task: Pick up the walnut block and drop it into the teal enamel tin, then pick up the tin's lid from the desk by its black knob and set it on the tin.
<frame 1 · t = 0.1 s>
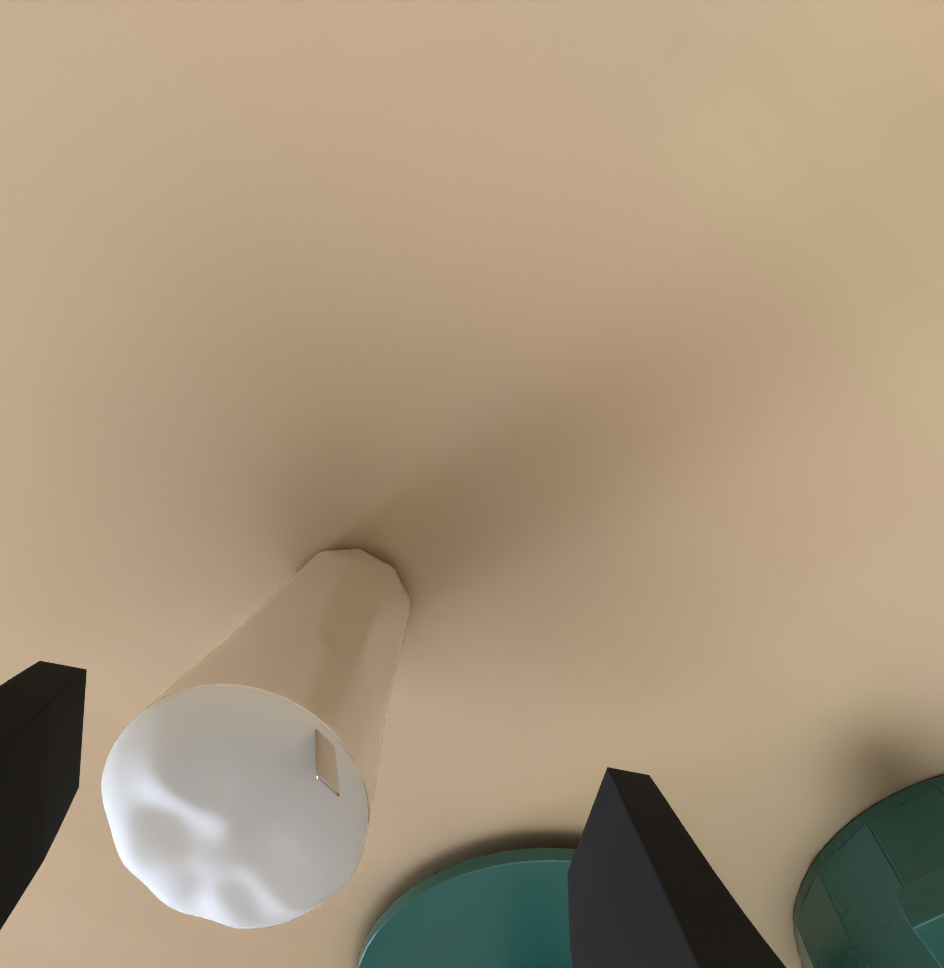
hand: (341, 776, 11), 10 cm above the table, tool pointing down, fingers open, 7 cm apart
milkshake: (362, 591, 22), on the table
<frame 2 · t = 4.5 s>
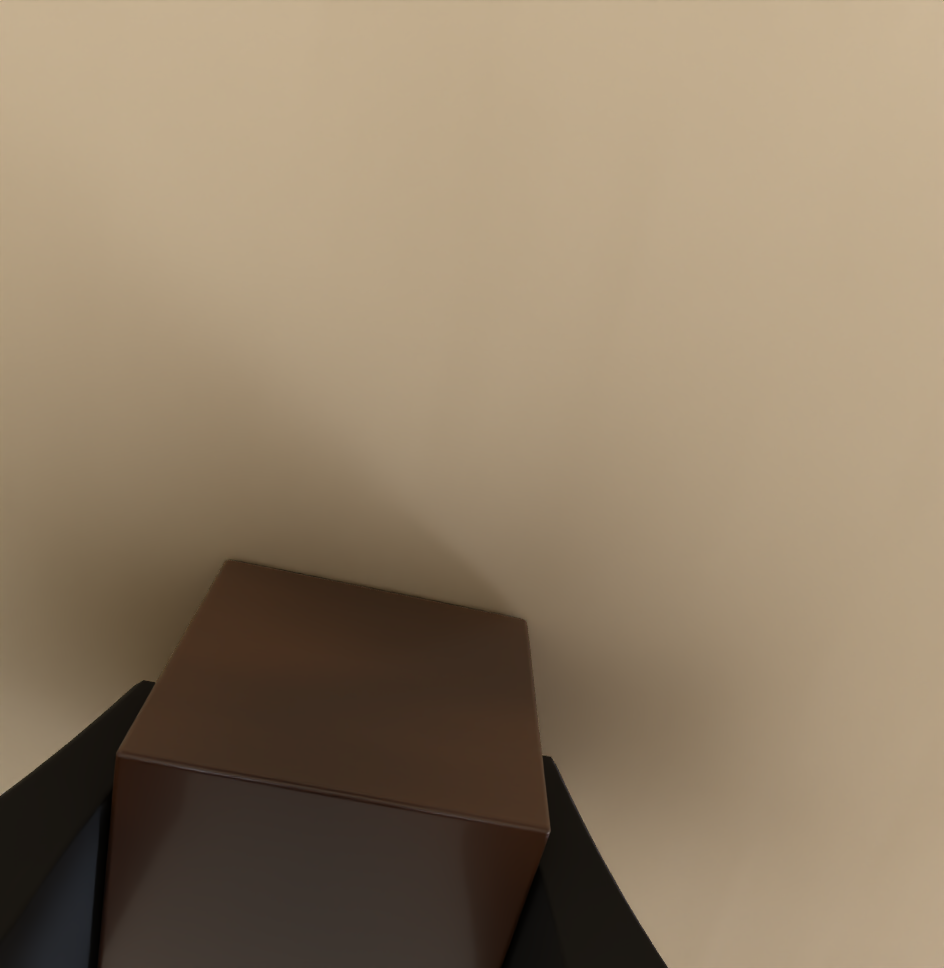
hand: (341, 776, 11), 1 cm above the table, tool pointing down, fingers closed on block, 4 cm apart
block: (352, 709, 13), on the table, touching gripper
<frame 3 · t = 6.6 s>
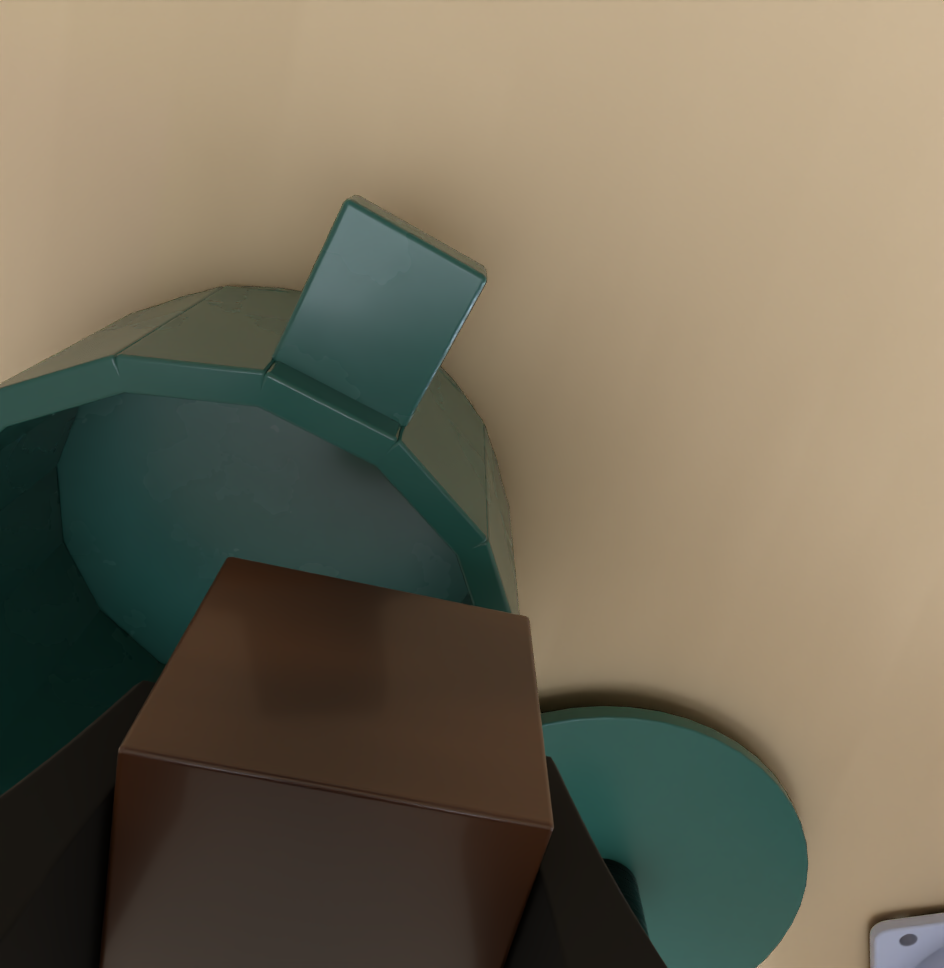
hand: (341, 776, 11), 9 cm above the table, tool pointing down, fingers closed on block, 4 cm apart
tin: (275, 518, 20), on the table
block: (354, 707, 13), point 8 cm above the table, touching gripper
lid: (592, 874, 24), point 1 cm above the table
when the fingers open (3 cm above the table, at t = 9.1 s): block drops 1 cm, resting on tin.
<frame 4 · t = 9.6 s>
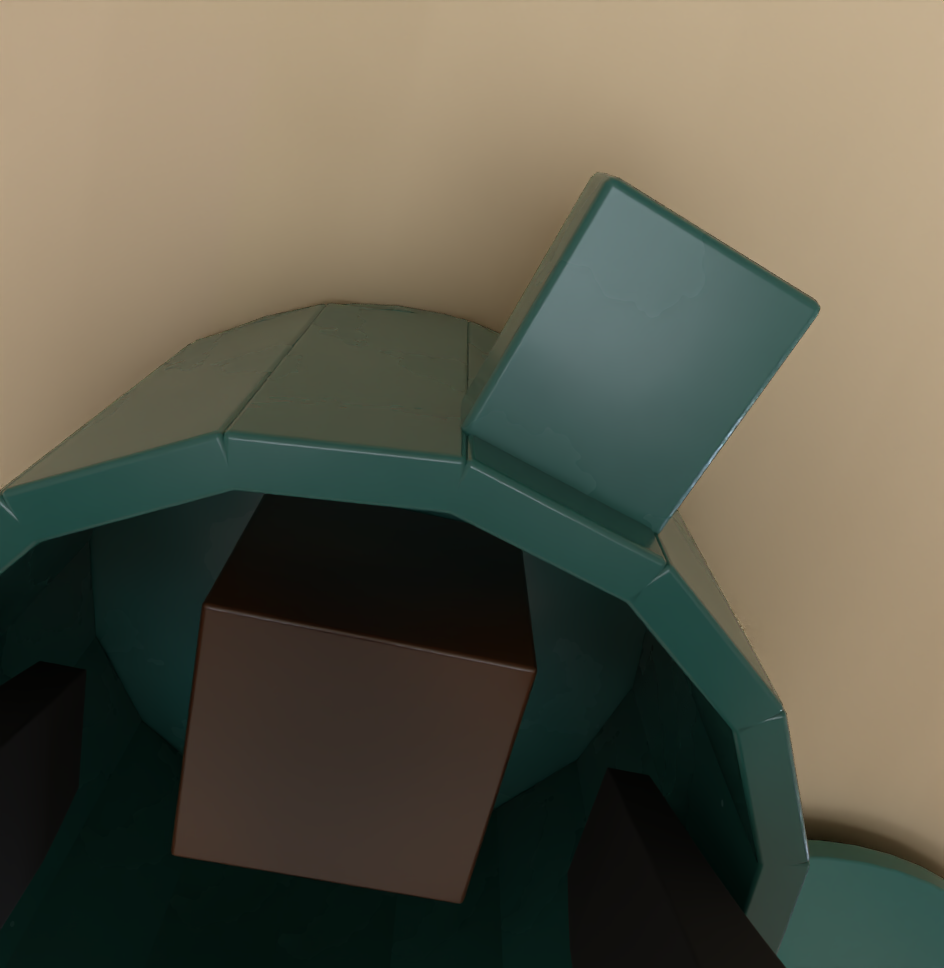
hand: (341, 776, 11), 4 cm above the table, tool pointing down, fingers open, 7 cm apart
tin: (374, 604, 16), on the table
block: (374, 613, 15), resting on tin
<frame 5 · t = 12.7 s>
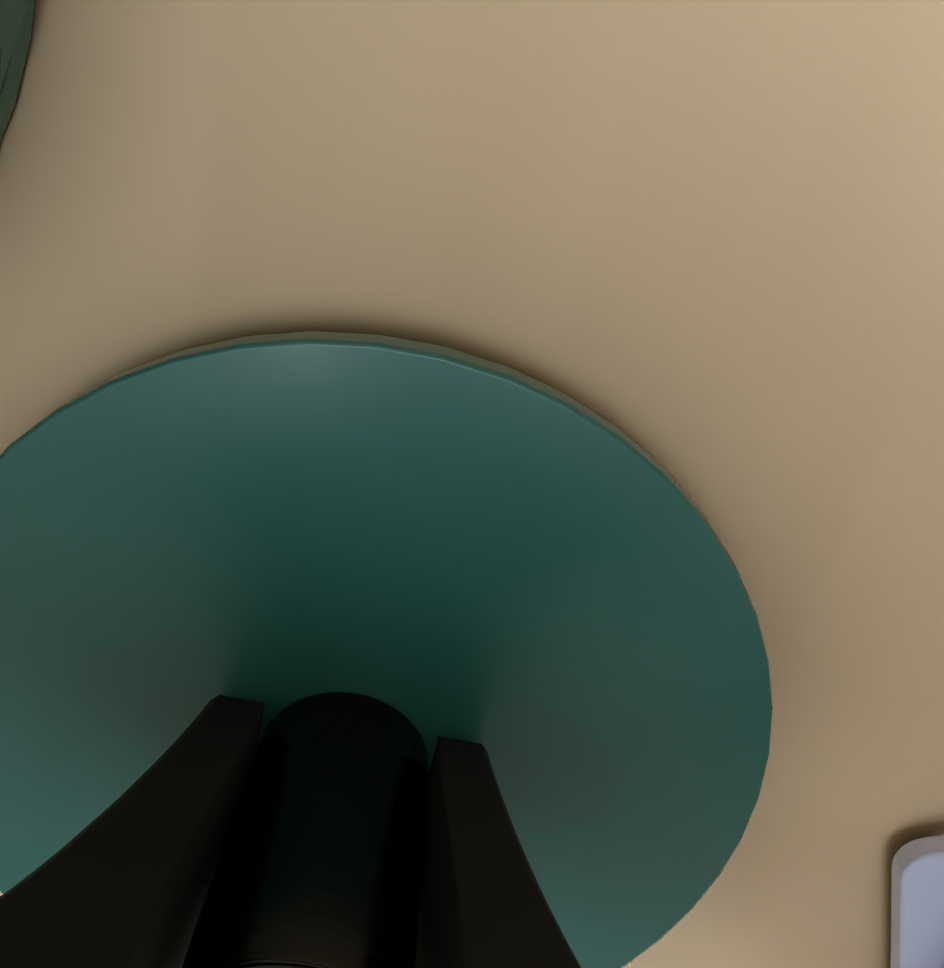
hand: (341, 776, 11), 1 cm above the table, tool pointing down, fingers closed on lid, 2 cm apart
lid: (348, 736, 12), point 1 cm above the table, touching gripper
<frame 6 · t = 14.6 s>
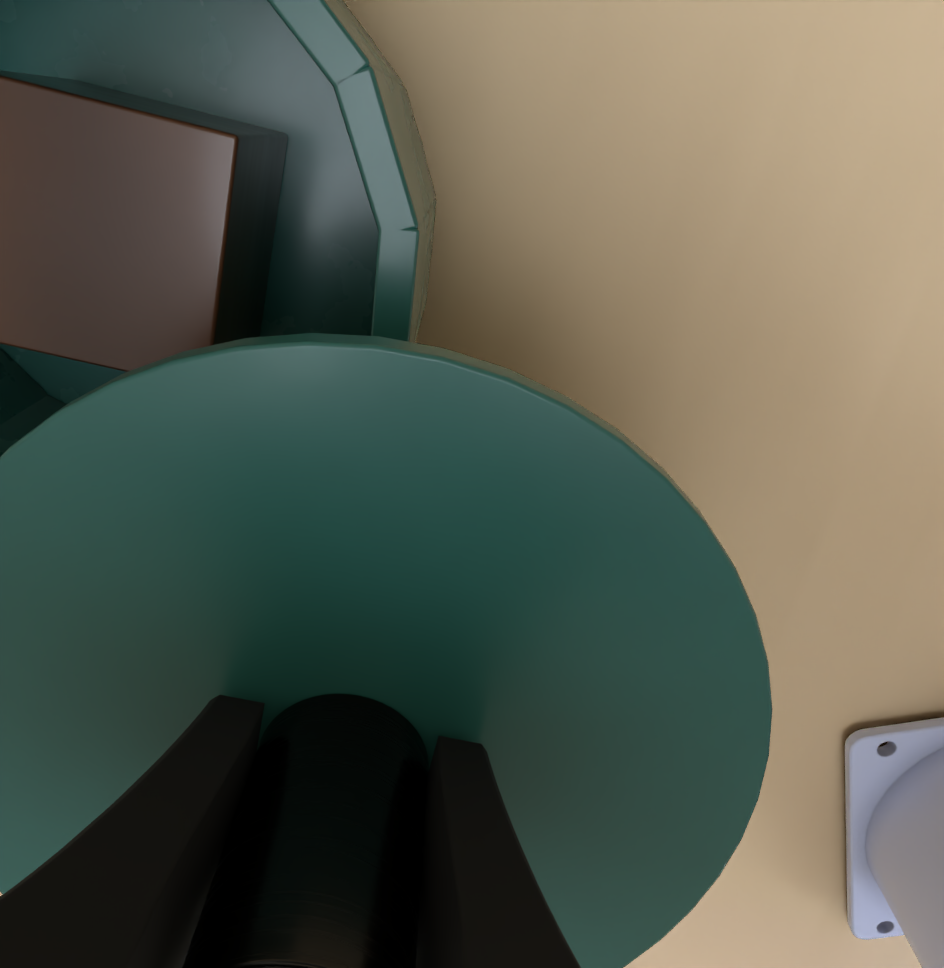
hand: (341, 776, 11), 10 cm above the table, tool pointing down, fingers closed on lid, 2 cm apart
tin: (175, 217, 18), on the table
block: (170, 217, 18), resting on tin
lid: (348, 737, 12), point 9 cm above the table, touching gripper
when the fingers open (7 cm above the table, at t = 16.5 s): lid stays where it is, resting on tin.
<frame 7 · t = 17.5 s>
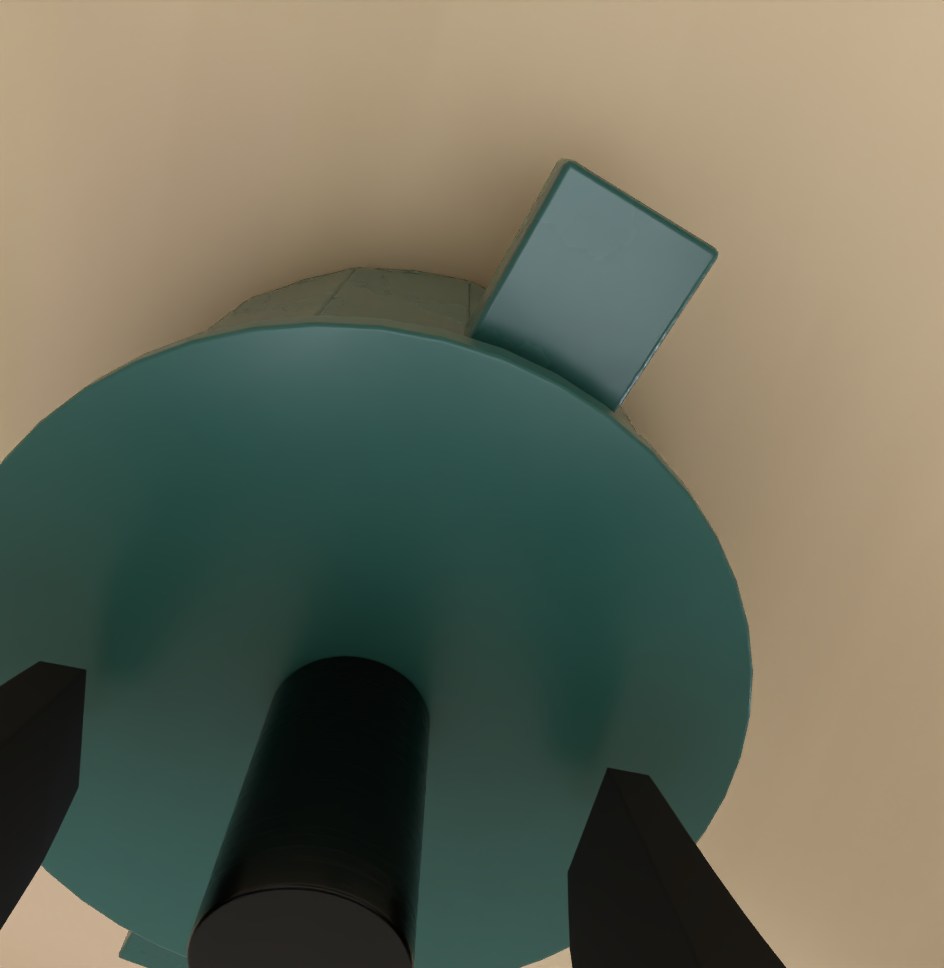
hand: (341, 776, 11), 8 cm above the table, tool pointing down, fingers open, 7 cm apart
tin: (392, 521, 19), on the table
lid: (354, 700, 13), point 6 cm above the table, touching tin
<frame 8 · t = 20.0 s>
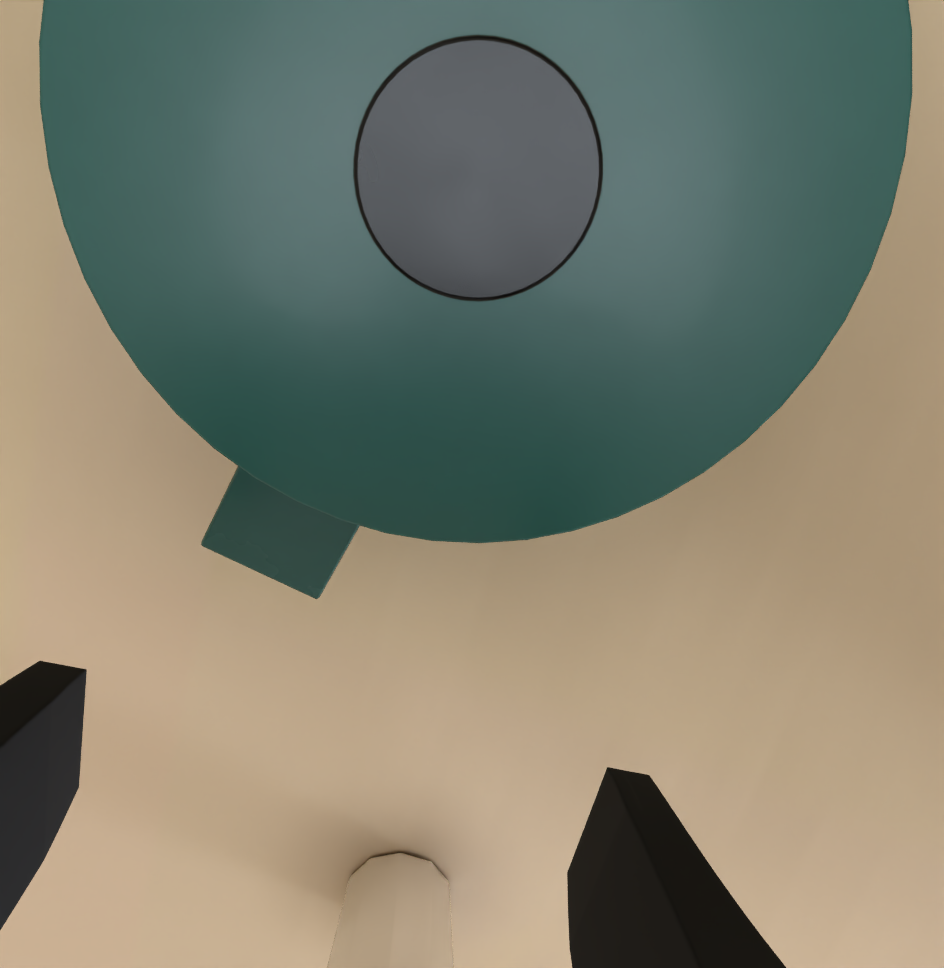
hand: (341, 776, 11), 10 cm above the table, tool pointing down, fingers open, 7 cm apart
milkshake: (387, 880, 27), on the table
tin: (475, 149, 18), on the table
lid: (475, 159, 12), point 6 cm above the table, touching tin
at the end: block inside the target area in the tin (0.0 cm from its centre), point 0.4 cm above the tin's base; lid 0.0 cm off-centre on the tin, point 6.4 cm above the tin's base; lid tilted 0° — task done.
